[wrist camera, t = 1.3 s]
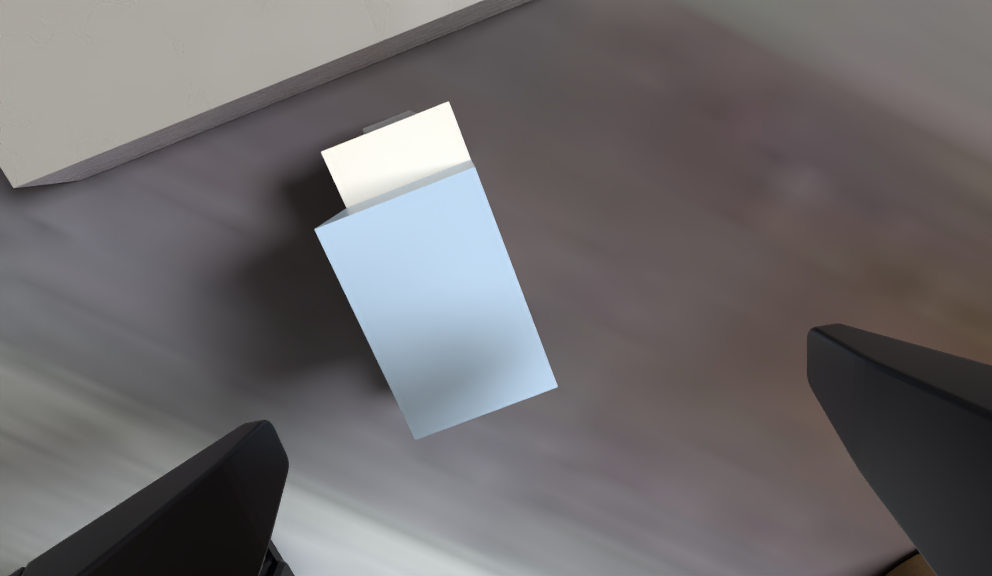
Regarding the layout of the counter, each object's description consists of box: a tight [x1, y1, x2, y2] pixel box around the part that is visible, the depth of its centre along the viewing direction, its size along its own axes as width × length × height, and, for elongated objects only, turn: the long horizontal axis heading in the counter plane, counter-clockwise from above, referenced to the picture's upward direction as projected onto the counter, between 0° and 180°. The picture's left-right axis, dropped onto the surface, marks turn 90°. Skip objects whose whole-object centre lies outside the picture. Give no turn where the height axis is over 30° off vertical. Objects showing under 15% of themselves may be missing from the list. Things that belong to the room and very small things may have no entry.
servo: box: [314, 102, 558, 440], centre depth 17 cm, size 4×10×8 cm, turn 21°
